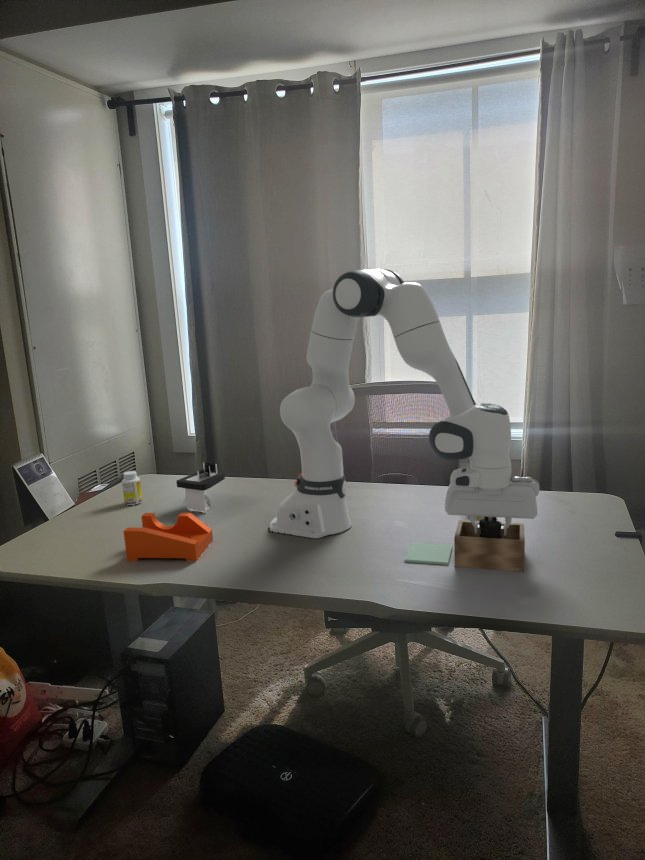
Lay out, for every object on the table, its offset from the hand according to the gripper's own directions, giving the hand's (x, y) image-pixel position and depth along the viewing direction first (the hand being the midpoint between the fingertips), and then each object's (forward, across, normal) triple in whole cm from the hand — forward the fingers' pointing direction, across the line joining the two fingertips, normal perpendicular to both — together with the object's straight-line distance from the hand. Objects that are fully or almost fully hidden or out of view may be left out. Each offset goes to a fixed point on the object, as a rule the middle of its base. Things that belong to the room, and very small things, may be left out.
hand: (490, 533), depth 141 cm
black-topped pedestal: (+7, +85, -23) cm, 89 cm away
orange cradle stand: (+7, +78, +9) cm, 79 cm away
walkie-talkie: (+6, 0, 0) cm, 6 cm away
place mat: (+6, +14, 0) cm, 15 cm away
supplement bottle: (+6, +111, -23) cm, 114 cm away
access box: (+6, 0, 0) cm, 6 cm away
